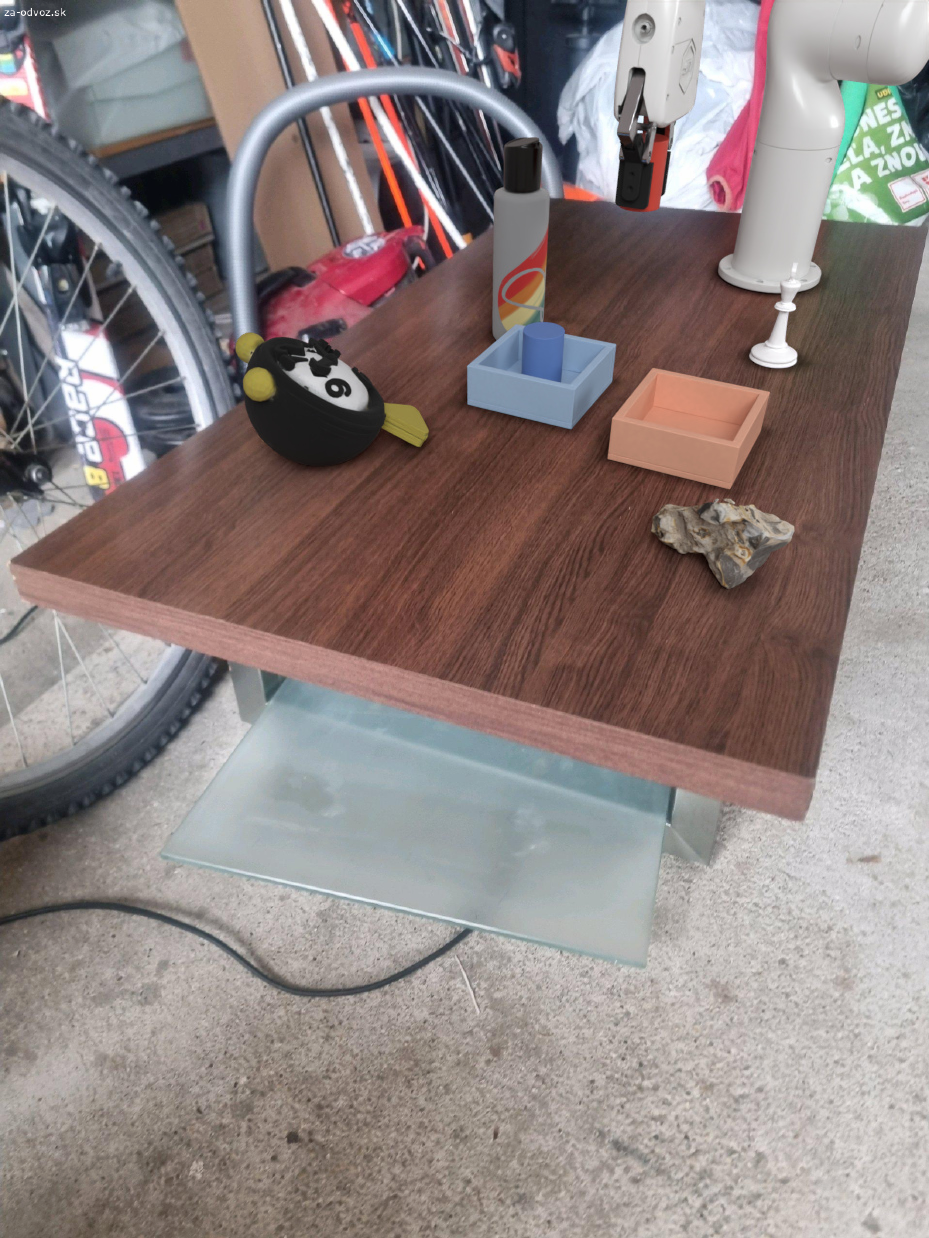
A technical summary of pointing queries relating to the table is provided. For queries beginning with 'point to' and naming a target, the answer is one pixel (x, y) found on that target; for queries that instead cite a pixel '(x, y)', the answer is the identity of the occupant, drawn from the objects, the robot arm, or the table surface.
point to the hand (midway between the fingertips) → (640, 198)
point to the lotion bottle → (520, 238)
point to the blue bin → (540, 380)
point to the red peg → (655, 172)
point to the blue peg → (543, 350)
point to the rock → (723, 536)
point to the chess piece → (779, 330)
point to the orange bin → (688, 427)
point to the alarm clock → (316, 402)
